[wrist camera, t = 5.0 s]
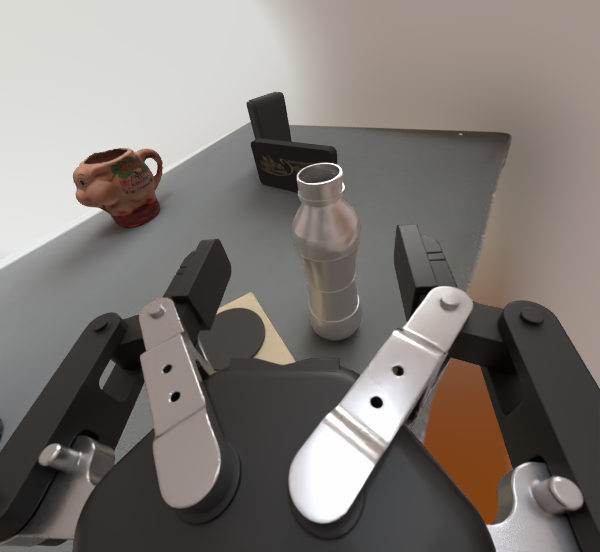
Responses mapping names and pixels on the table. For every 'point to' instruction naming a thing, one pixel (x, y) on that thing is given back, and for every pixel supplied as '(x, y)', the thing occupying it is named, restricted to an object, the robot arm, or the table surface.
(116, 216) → the animal head mug
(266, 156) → the nameplate
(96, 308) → the table surface
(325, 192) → the silver bottle
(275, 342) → the hob
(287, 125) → the dark grey upright block
